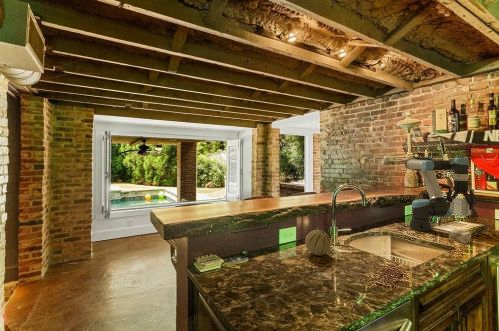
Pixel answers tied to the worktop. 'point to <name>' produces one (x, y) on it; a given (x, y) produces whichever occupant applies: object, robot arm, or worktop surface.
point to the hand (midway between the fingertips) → (460, 212)
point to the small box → (459, 206)
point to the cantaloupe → (317, 242)
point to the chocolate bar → (389, 275)
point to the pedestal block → (460, 236)
